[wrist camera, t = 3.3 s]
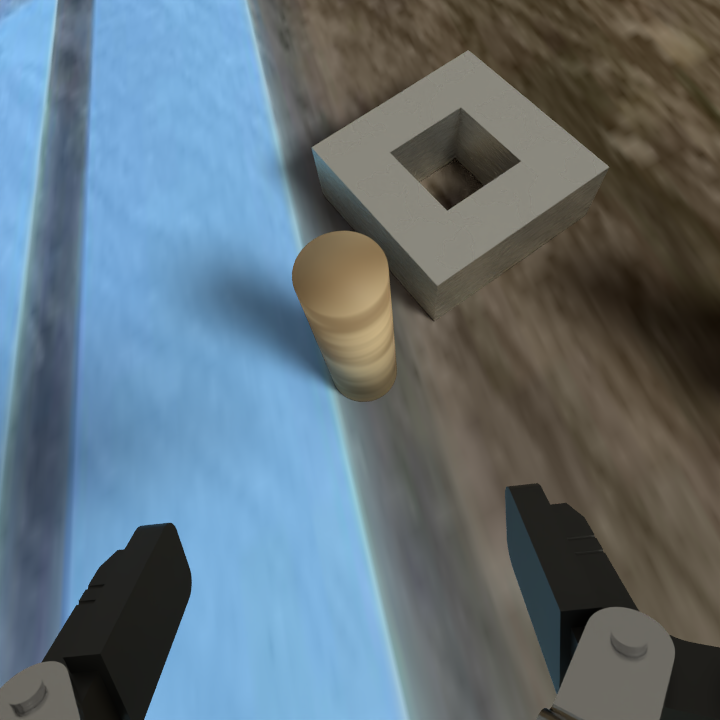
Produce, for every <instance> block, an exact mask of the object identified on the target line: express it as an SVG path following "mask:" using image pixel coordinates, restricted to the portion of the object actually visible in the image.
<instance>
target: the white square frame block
mask: <svg viewBox="0 0 720 720" xmlns="http://www.w3.org/2000/svg"><path fill="white" fill-rule="evenodd" d="M312 151H313V156H314V160H315V164H316V168H317V172H318V176H319V180H320V185H321V189H322V193H323V195H324V196H325V197H326V198H327V200H328V201H329V202H330V203H331V204H332V205H333V206H334V207H335V209H336V210H337V211H338V212H339V213H340V214H341V215H342V217H343V218H344V219H345V220H346V221H347V222H348V223H349V225H350V226H351V227H352V228H353V229H354V230H355V231H356V232H357V233H360V234H363V235H365V236H367V237H369V238H371V239H372V240H373V241H375V242H376V243H377V244H378V245H379V246H380V247H381V249H382V250H383V252H384V254H385V256H386V258H387V262H388V268H389V270H390V271H391V273H392V274H393V275H394V276H395V277H396V278H397V279H398V281H399V282H400V283H401V284H402V285H403V286H404V287H405V289H406V290H407V291H408V292H409V293H410V294H411V295H412V296H413V298H414V299H415V300H416V301H417V302H418V303H419V304H420V306H421V307H422V308H423V309H424V310H425V311H426V312H427V314H428V315H429V316H430V317H431V318H432V319H433V320H434V321H436V320H437V319H438V318H440V317H441V316H443V315H444V314H446V313H447V312H448V311H450V310H451V309H453V308H454V307H455V306H457V305H458V304H460V303H461V302H463V301H464V300H465V299H467V298H468V297H470V296H471V295H473V294H474V293H475V292H477V291H478V290H480V289H481V288H482V287H484V286H485V285H487V284H488V283H490V282H491V281H492V280H494V279H495V278H497V277H498V276H500V275H501V274H502V273H504V272H505V271H507V270H508V269H509V268H511V267H512V266H514V265H515V264H517V263H518V262H519V261H521V260H522V259H524V258H525V257H527V256H528V255H529V254H531V253H532V252H534V251H535V250H536V249H538V248H539V247H541V246H542V245H544V244H545V243H546V242H548V241H549V240H551V239H552V238H554V237H555V236H556V235H558V234H559V233H561V232H562V231H563V230H565V229H566V228H568V227H569V226H571V225H572V224H573V223H575V222H576V221H578V220H579V219H581V218H582V217H583V216H585V215H586V213H587V211H588V209H589V207H590V205H591V203H592V201H593V199H594V197H595V195H596V193H597V191H598V189H599V187H600V185H601V183H602V181H603V179H604V176H605V174H606V172H607V170H608V168H609V166H607V165H606V164H605V163H604V162H603V161H601V160H600V159H599V158H598V157H596V156H595V155H594V154H593V153H592V152H590V151H589V150H588V149H587V148H586V147H584V146H583V145H582V144H581V143H580V142H578V141H577V140H576V139H575V138H574V137H572V136H571V135H570V134H569V133H568V132H566V131H565V130H564V129H563V128H562V127H560V126H559V125H558V124H557V123H555V122H554V121H553V120H552V119H551V118H549V117H548V116H547V115H546V114H545V113H543V112H542V111H541V110H540V109H539V108H537V107H536V106H535V105H534V104H533V103H531V102H530V101H529V100H528V99H527V98H525V97H524V96H523V95H522V94H521V93H519V92H518V91H517V90H516V89H514V88H513V87H512V86H511V85H510V84H508V83H507V82H506V81H505V80H504V79H502V78H501V77H500V76H499V75H498V74H496V73H495V72H494V71H493V70H492V69H490V68H489V67H488V66H487V65H486V64H484V63H483V62H482V61H481V60H480V59H478V58H477V57H476V56H475V55H473V54H472V53H471V52H470V51H469V50H468V51H466V52H465V53H463V54H462V55H460V56H458V57H457V58H455V59H454V60H452V61H450V62H449V63H447V64H445V65H444V66H442V67H441V68H439V69H437V70H436V71H434V72H433V73H431V74H429V75H428V76H426V77H424V78H423V79H421V80H420V81H418V82H416V83H415V84H413V85H412V86H410V87H408V88H407V89H405V90H403V91H402V92H400V93H399V94H397V95H395V96H394V97H392V98H391V99H389V100H387V101H386V102H384V103H383V104H381V105H379V106H378V107H376V108H374V109H373V110H371V111H370V112H368V113H366V114H365V115H363V116H362V117H360V118H358V119H357V120H355V121H353V122H352V123H350V124H349V125H347V126H345V127H344V128H342V129H341V130H339V131H337V132H336V133H334V134H333V135H331V136H329V137H328V138H326V139H324V140H323V141H321V142H320V143H318V144H316V145H315V146H313V147H312ZM455 158H456V159H457V160H458V161H459V162H460V163H461V164H462V165H463V166H464V167H465V168H466V169H467V170H468V171H470V172H471V173H472V174H473V175H474V176H475V177H476V178H477V179H478V180H479V181H480V182H481V183H482V184H483V185H484V187H482V188H481V189H479V190H478V191H476V192H475V193H473V194H472V195H470V196H469V197H467V198H466V199H464V200H463V201H461V202H460V203H458V204H457V205H455V206H454V207H452V208H451V209H449V210H448V211H447V210H446V209H445V208H444V207H443V206H442V205H441V204H440V203H439V202H438V201H437V200H436V199H435V198H434V197H433V196H432V195H431V194H430V193H429V192H428V191H427V190H426V189H425V188H424V187H423V186H422V185H421V184H420V183H419V182H420V181H422V180H423V179H425V178H426V177H428V176H429V175H431V174H432V173H434V172H435V171H437V170H438V169H440V168H441V167H443V166H445V165H446V164H448V163H449V162H451V161H452V160H454V159H455Z"/></svg>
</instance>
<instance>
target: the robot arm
mask: <svg viewBox="0 0 720 720" xmlns="http://www.w3.org/2000/svg"><path fill="white" fill-rule="evenodd" d="M505 499H506V526H507V543H508V550H509V555H510V560H511V563H512V567H513V570H514V572H515V575H516V578H517V581H518V584H519V587H520V590H521V592H522V595H523V598H524V601H525V604H526V607H527V610H528V613H529V615H530V618H531V621H532V624H533V627H534V630H535V633H536V635H537V638H538V641H539V644H540V647H541V650H542V653H543V655H544V658H545V661H546V664H547V667H548V670H549V673H550V676H551V678H552V681H553V684H554V687H555V690H556V693H557V696H556V699H555V701H554V703H553V705H552V707H551V708H550V710H548V709H547V708H544V709H542V711H541V712H540V713H539V715H538V717H537V719H536V720H720V648H719V647H714V646H708V645H703V644H697V643H692V642H688V641H684V640H681V639H678V638H675V637H673V636H671V635H669V634H668V633H667V632H666V630H665V629H664V628H663V627H662V626H661V625H660V624H659V623H658V622H656V621H655V620H654V619H652V618H651V617H649V616H647V615H646V614H644V613H641V612H640V611H639V610H638V609H637V607H636V605H635V604H634V602H633V600H632V598H631V597H630V595H629V593H628V592H627V590H626V588H625V586H624V585H623V583H622V581H621V580H620V578H619V576H618V574H617V573H616V571H615V569H614V568H613V566H612V564H611V562H610V561H609V559H608V557H607V556H606V554H605V553H603V549H602V547H601V545H600V544H599V542H598V540H597V538H595V536H594V533H593V531H592V530H591V528H590V526H589V525H588V523H587V521H586V519H585V518H584V517H583V516H582V515H581V514H580V513H578V512H577V511H576V510H574V509H573V508H572V507H571V506H569V505H568V504H567V503H562V504H552V505H550V503H549V501H548V499H547V497H546V495H545V493H544V492H543V490H542V488H541V486H540V485H539V484H538V483H536V484H527V485H518V486H509V487H506V490H505ZM191 586H192V579H191V571H190V568H189V565H188V562H187V559H186V556H185V553H184V550H183V547H182V544H181V541H180V538H179V536H178V533H177V530H176V527H175V526H174V525H173V524H172V523H163V524H154V525H145V526H140V527H138V528H137V529H136V531H135V532H134V534H133V536H132V537H131V539H130V541H129V543H128V544H127V546H126V548H125V549H124V550H117V551H116V552H115V553H114V554H113V555H112V556H111V557H110V558H109V559H108V560H107V561H106V562H104V563H103V564H102V565H101V566H100V567H99V569H98V570H97V572H96V574H95V575H94V577H93V579H92V580H91V582H90V584H89V585H88V589H87V590H85V592H84V593H83V595H82V597H81V598H80V600H79V605H76V607H75V608H74V610H73V611H72V613H71V615H70V616H69V618H68V620H67V621H66V623H65V625H64V626H63V628H62V630H61V631H60V633H59V634H58V636H57V638H56V639H55V641H54V643H53V644H52V646H51V648H50V649H49V651H48V653H47V654H46V656H45V658H44V659H43V661H42V662H41V663H38V664H35V665H33V666H30V667H28V668H26V669H25V670H23V671H21V672H20V673H18V674H16V675H15V676H14V677H12V678H11V679H10V680H9V681H8V682H6V683H5V684H4V685H3V686H2V687H1V688H0V720H144V718H145V716H146V713H147V710H148V708H149V705H150V702H151V700H152V697H153V694H154V692H155V689H156V686H157V683H158V681H159V678H160V675H161V673H162V670H163V667H164V665H165V662H166V659H167V657H168V654H169V651H170V649H171V646H172V643H173V641H174V638H175V635H176V633H177V630H178V627H179V625H180V622H181V619H182V617H183V614H184V611H185V608H186V606H187V603H188V600H189V597H190V594H191Z"/></svg>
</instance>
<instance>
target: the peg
mask: <svg viewBox="0 0 720 720" xmlns="http://www.w3.org/2000/svg"><path fill="white" fill-rule="evenodd" d="M292 281H293V286H294V289H295V292H296V294H297V296H298V299H299V301H300V303H301V306H302V308H303V310H304V313H305V315H306V318H307V320H308V322H309V325H310V327H311V329H312V332H313V334H314V336H315V339H316V341H317V343H318V346H319V348H320V351H321V353H322V355H323V358H324V360H325V362H326V365H327V367H328V369H329V372H330V374H331V376H332V379H333V381H334V383H335V386H336V387H337V389H338V390H339V391H340V392H341V393H342V394H343V395H344V396H345V397H347V398H349V399H351V400H354V401H359V402H368V401H373V400H376V399H378V398H380V397H382V396H383V395H385V394H386V393H387V392H388V391H389V390H390V389H391V387H392V386H393V384H394V382H395V379H396V375H397V366H396V354H395V341H394V329H393V317H392V304H391V292H390V280H389V268H388V262H387V258H386V256H385V254H384V252H383V250H382V249H381V247H380V246H379V245H378V244H377V243H376V242H375V241H373V240H372V239H371V238H369V237H367V236H365V235H363V234H360V233H357V232H352V231H335V232H330V233H327V234H324V235H321V236H319V237H317V238H315V239H314V240H312V241H311V242H310V243H308V244H307V245H306V246H305V247H304V248H303V249H302V250H301V252H300V253H299V255H298V256H297V258H296V260H295V263H294V266H293V271H292Z"/></svg>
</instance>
